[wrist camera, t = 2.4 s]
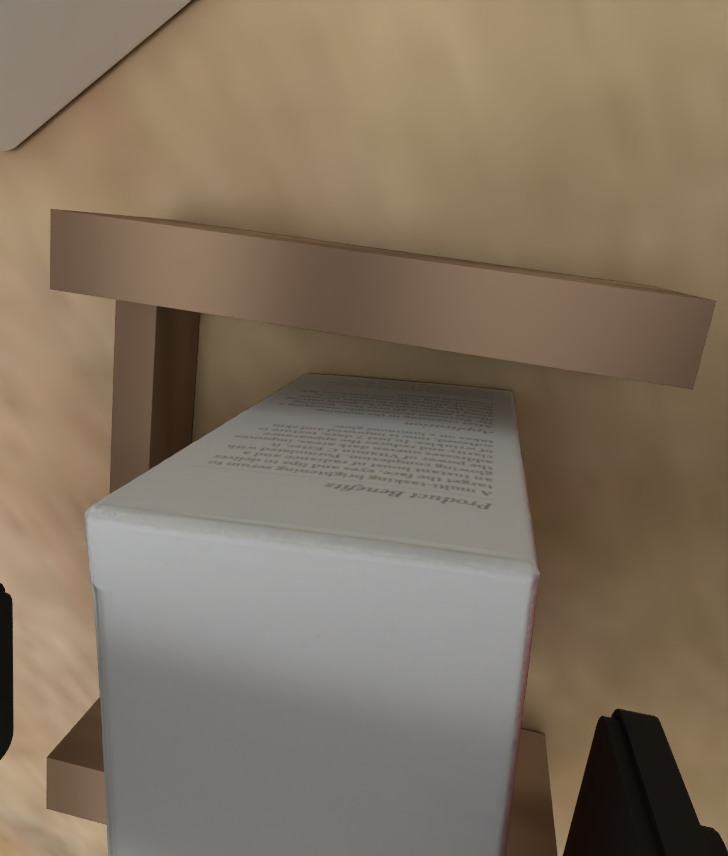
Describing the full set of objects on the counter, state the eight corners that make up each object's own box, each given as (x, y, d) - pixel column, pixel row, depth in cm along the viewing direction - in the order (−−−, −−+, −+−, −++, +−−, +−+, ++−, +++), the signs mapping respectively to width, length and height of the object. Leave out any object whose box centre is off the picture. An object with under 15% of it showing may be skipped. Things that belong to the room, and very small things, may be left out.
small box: (487, 665, 19) (482, 1109, 9) (293, 636, 20) (100, 1014, 10) (519, 384, 17) (555, 569, 7) (302, 365, 18) (69, 509, 8)
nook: (650, 286, 16) (715, 301, 11) (534, 777, 20) (547, 943, 15) (168, 219, 18) (50, 209, 13) (145, 685, 22) (46, 808, 17)
